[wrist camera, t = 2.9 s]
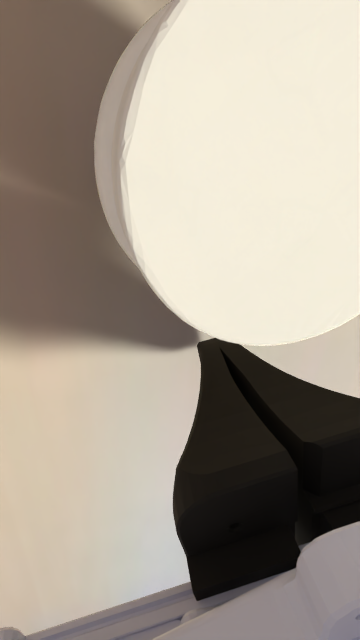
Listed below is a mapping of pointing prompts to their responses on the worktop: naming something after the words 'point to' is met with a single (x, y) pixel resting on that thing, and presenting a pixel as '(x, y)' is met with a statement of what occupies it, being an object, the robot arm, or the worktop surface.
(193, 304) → the supplement bottle
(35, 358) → the worktop surface
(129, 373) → the worktop surface
